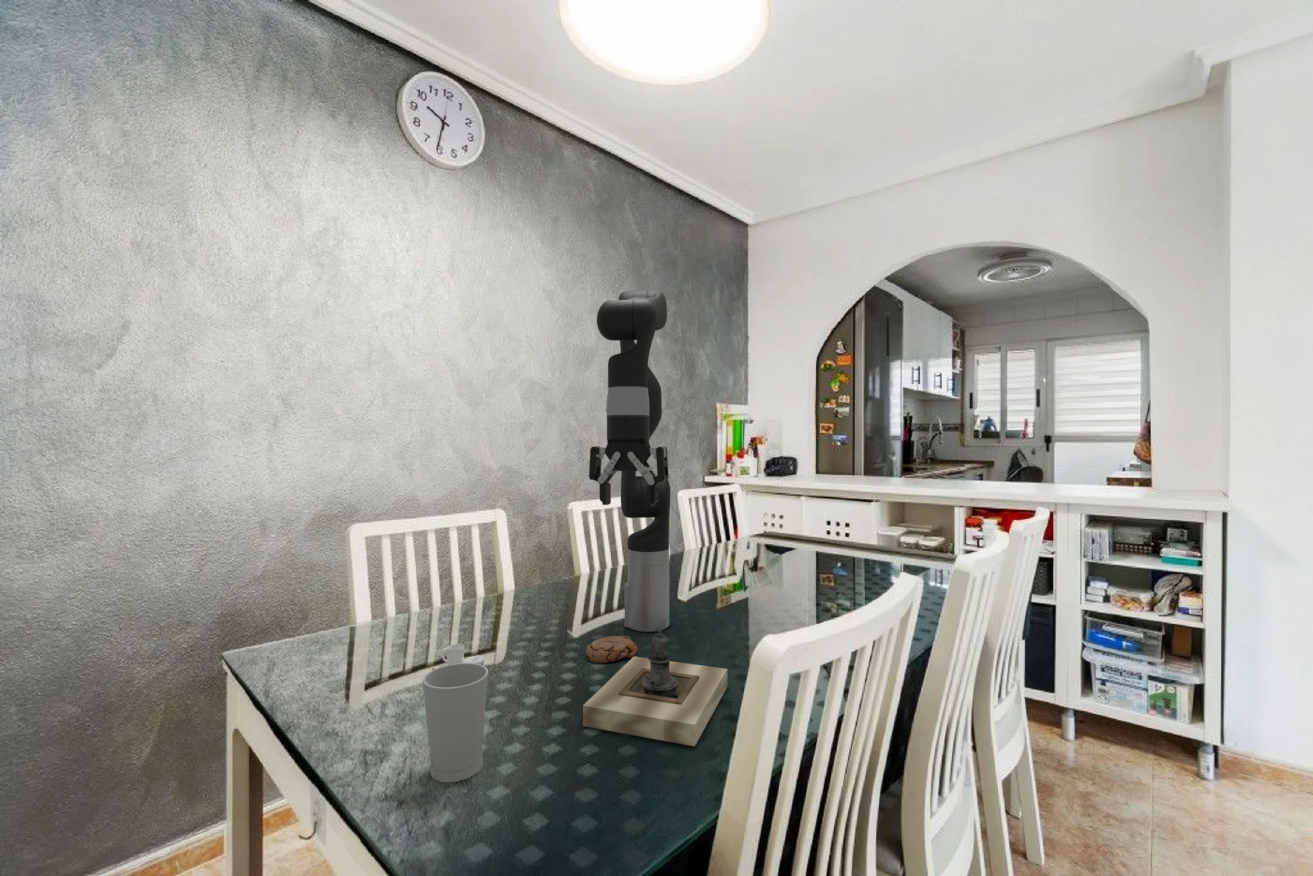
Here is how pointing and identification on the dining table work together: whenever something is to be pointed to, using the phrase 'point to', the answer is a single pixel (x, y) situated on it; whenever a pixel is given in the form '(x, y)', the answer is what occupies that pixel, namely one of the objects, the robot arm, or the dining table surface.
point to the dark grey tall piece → (660, 669)
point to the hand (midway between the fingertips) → (628, 505)
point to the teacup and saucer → (459, 655)
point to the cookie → (611, 649)
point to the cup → (455, 719)
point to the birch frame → (657, 702)
